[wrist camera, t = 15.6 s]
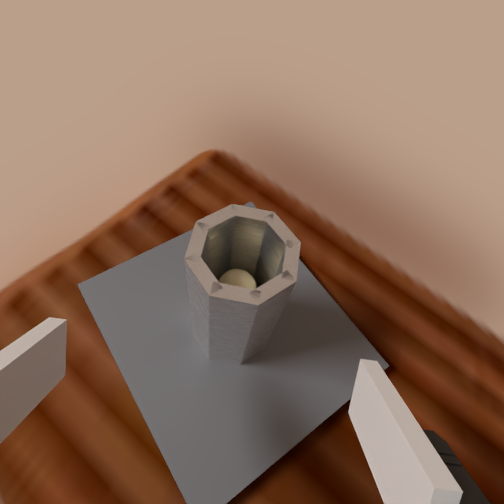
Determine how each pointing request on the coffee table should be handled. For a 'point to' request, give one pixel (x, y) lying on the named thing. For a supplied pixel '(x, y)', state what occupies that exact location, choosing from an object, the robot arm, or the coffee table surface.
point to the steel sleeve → (233, 297)
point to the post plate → (223, 371)
